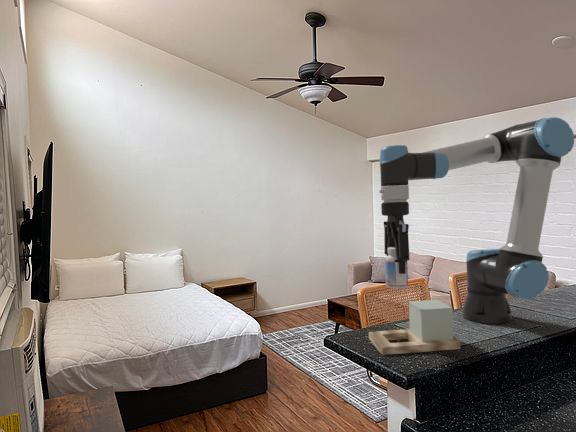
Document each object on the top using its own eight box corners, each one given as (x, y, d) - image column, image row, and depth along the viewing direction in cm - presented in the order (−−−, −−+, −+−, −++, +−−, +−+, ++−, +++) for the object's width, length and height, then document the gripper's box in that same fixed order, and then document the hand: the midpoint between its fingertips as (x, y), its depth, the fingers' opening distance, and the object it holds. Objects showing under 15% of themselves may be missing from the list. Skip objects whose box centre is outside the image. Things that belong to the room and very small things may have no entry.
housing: (438, 329, 125) (438, 299, 125) (453, 339, 116) (452, 307, 116) (409, 331, 124) (408, 301, 124) (422, 341, 115) (421, 309, 115)
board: (439, 333, 127) (438, 326, 127) (460, 348, 114) (460, 341, 114) (368, 338, 125) (368, 331, 125) (382, 354, 112) (382, 347, 112)
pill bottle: (409, 289, 115) (408, 249, 114) (386, 289, 116) (385, 249, 116) (407, 284, 121) (406, 246, 120) (385, 284, 122) (384, 246, 122)
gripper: (372, 201, 126) (374, 276, 128) (393, 202, 108) (395, 290, 109) (396, 200, 127) (398, 275, 128) (421, 201, 108) (423, 289, 109)
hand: (397, 282), depth 119 cm, fingers closed on pill bottle, 6 cm apart
